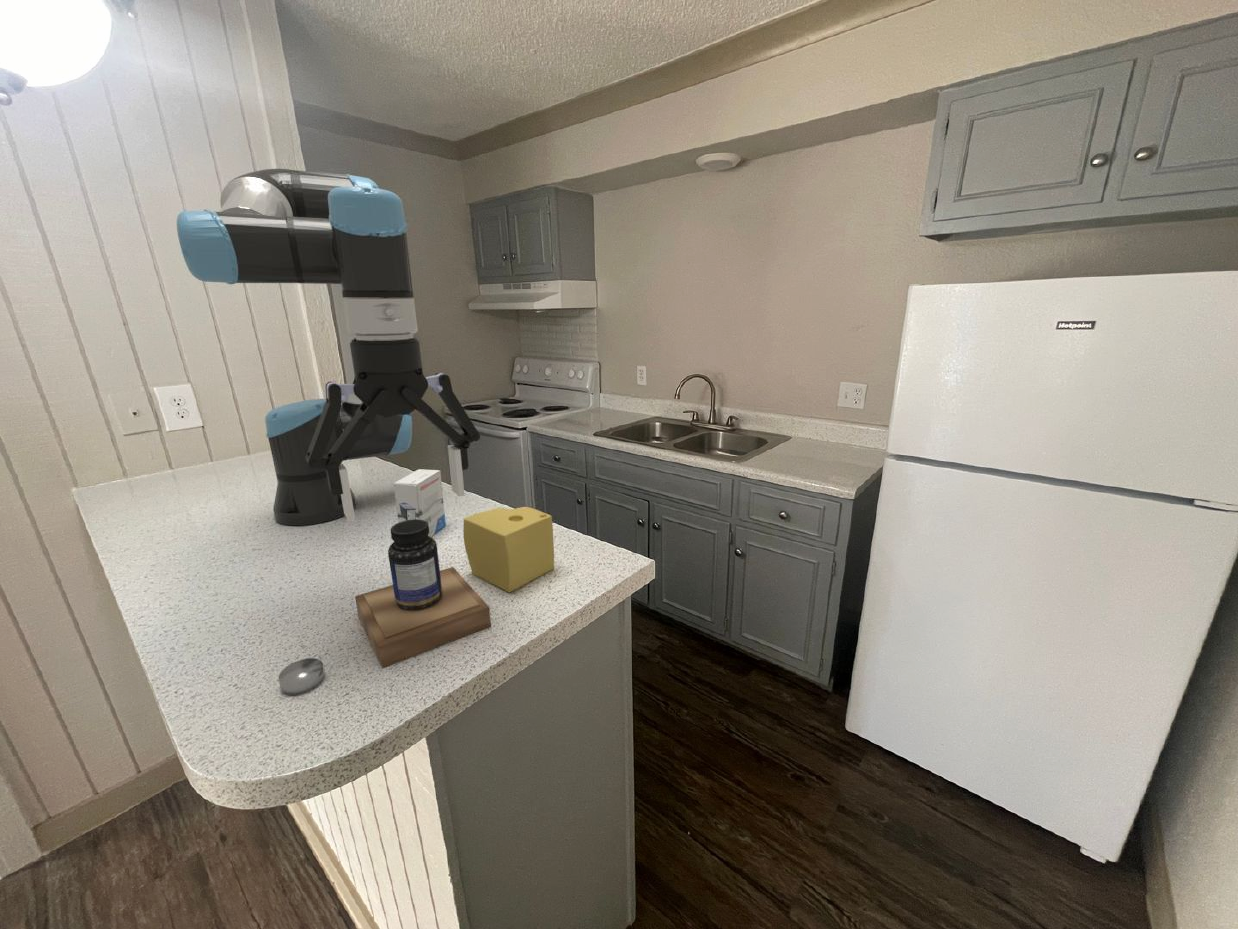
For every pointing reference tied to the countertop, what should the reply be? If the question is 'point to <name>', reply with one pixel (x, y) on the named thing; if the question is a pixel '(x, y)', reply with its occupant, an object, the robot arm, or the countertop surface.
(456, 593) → the walnut stand
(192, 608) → the countertop surface
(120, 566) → the countertop surface
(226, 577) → the countertop surface
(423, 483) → the ink box
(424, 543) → the pill bottle
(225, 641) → the countertop surface
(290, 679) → the grey metal puck
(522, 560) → the cheese
